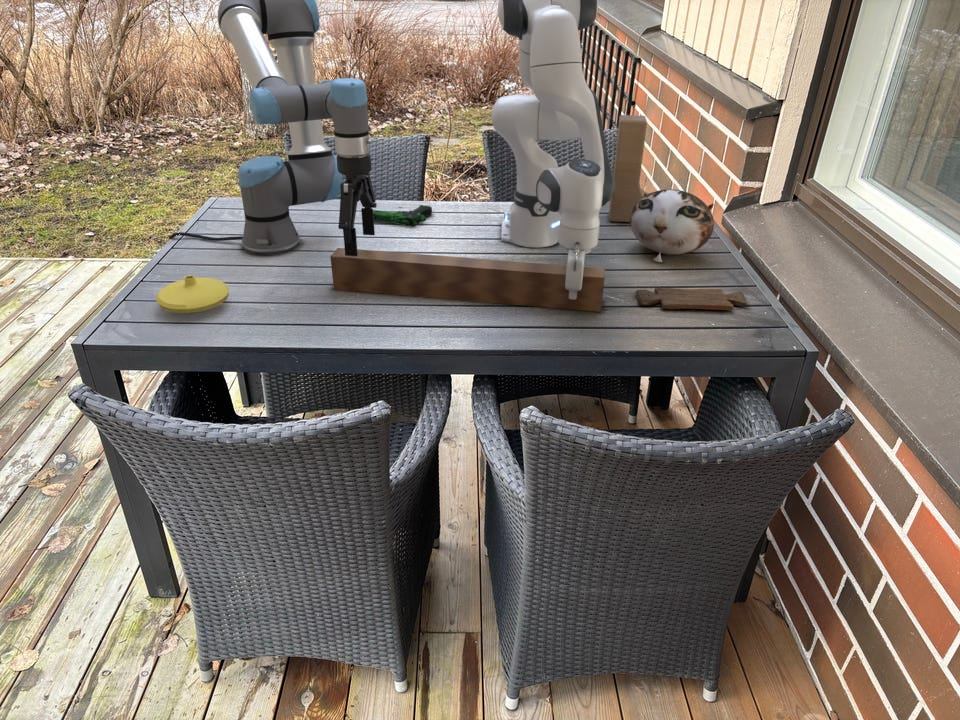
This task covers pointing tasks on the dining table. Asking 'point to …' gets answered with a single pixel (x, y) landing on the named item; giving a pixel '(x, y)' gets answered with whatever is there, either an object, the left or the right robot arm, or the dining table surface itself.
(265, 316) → the dining table surface
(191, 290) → the yellow round disc
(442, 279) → the post
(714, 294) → the dark wooden board
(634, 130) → the decorative block
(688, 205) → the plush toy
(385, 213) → the handgun
